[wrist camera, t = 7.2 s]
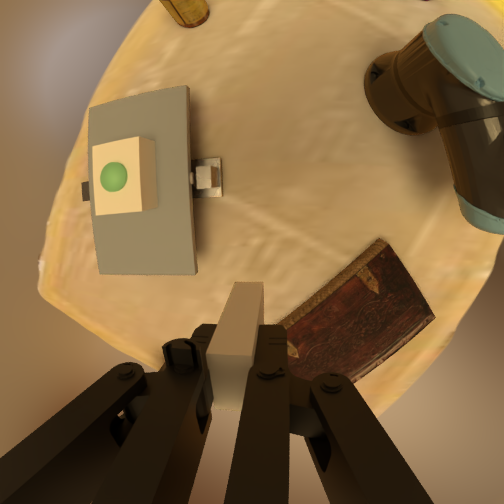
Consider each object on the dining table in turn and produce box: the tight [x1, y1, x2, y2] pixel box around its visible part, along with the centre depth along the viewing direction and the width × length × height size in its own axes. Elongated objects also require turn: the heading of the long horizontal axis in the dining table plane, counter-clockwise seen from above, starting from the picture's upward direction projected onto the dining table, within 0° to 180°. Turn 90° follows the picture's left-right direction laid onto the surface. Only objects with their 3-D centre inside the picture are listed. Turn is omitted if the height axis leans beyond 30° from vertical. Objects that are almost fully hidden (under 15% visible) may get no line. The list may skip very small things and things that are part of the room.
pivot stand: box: [82, 158, 223, 201], centre depth 41 cm, size 16×22×7 cm
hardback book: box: [277, 238, 436, 384], centre depth 46 cm, size 29×19×5 cm, turn 133°
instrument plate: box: [88, 85, 198, 275], centre depth 34 cm, size 26×16×8 cm, turn 2°
